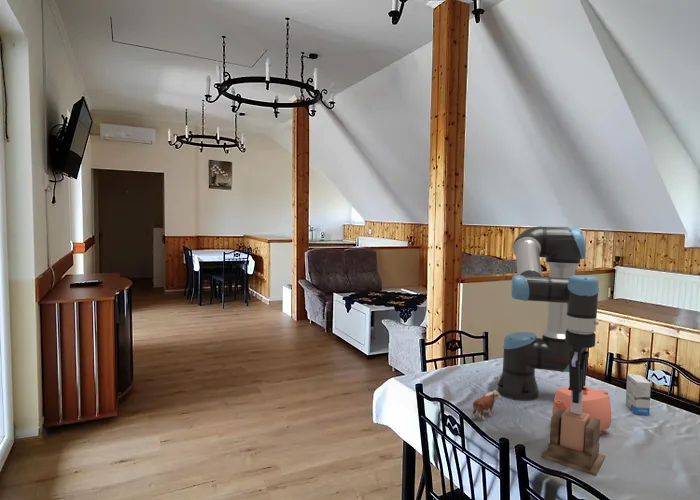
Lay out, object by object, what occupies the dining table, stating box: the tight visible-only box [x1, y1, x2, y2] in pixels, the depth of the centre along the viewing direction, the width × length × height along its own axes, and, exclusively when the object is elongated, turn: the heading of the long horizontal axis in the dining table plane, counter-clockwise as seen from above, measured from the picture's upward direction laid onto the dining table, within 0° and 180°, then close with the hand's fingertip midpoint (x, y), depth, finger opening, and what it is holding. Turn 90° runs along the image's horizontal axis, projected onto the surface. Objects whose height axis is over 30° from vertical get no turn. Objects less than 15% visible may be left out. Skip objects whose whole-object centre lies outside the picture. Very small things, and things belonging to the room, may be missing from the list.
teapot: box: [551, 385, 612, 435], centre depth 147 cm, size 22×13×14 cm, turn 112°
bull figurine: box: [472, 389, 502, 421], centre depth 156 cm, size 4×13×8 cm, turn 127°
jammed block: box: [560, 408, 590, 453], centre depth 130 cm, size 6×6×12 cm
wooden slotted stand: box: [540, 409, 606, 477], centre depth 130 cm, size 14×12×12 cm
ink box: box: [625, 373, 652, 416], centre depth 163 cm, size 9×5×12 cm, turn 168°
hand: (575, 412), depth 129 cm, fingers closed
